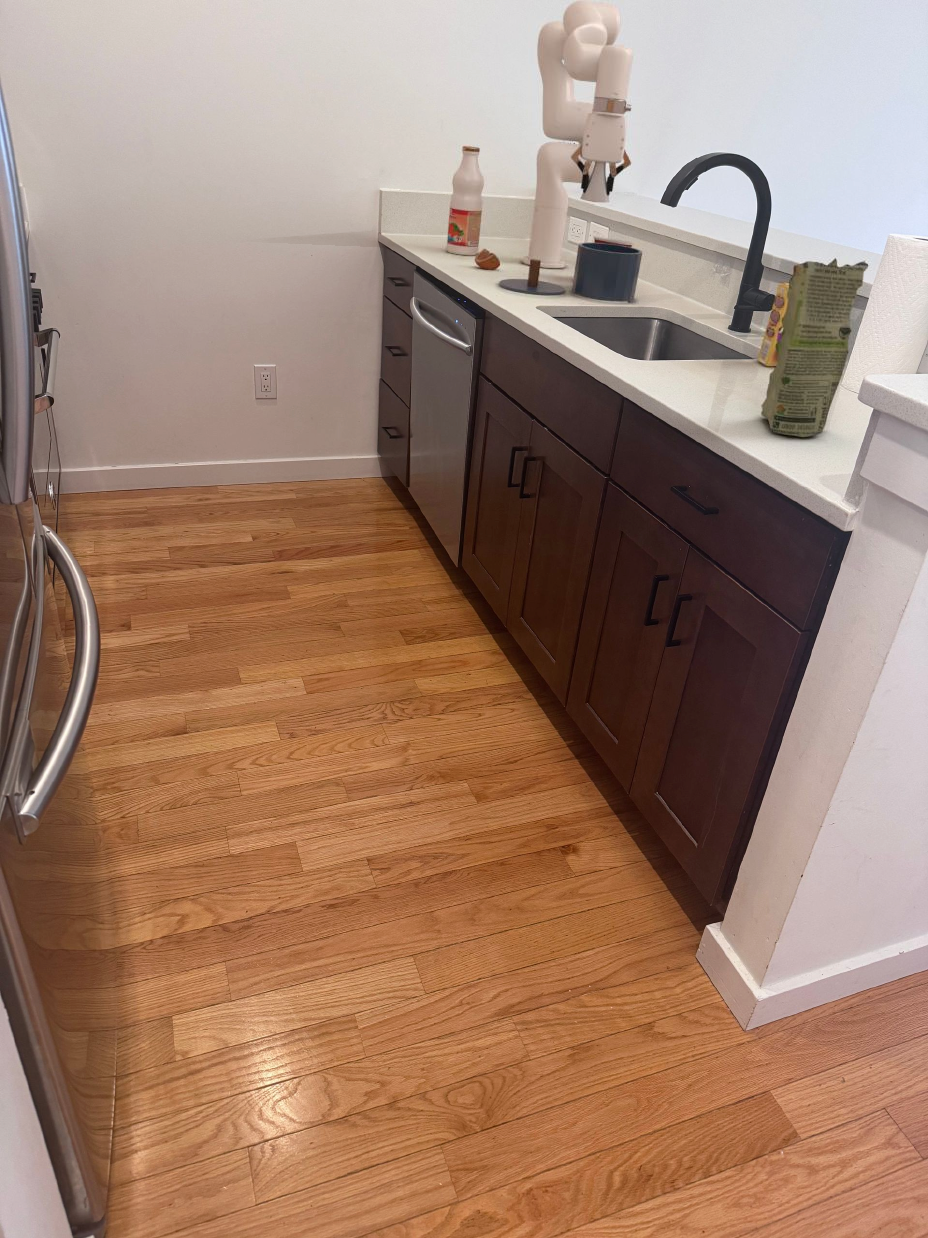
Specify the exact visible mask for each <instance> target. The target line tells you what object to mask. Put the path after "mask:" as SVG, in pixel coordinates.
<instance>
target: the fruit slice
mask: <svg viewBox="0 0 928 1238" xmlns="http://www.w3.org/2000/svg"><path fill="white" fill-rule="evenodd" d="M474 263H475V264H476V265H477V266H478V267H479V268H480V269H482V270H489V271H490V270H491V271H493V270H497V269H498V268H500V266H501V260H500V259H499V258H498V256H497V255H496V254H495V253H494V252H490V250H487V249H486V248H483V249H482V250H481V251H480V252H478V253H477V254H476V255H475V257H474Z"/></svg>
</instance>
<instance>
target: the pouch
mask: <svg viewBox="0 0 928 1238" xmlns="http://www.w3.org/2000/svg"><path fill="white" fill-rule="evenodd" d="M868 268H869V263H866V261H865V260H863V261H859V262H857V263H855V264H853V265H851V264H844V265H842V266H838V260H837V258H836V257H834V258H833V260H832V261H830V262H829V263H828V264H826V263H825V264H824V263H823V262H820V261H819V262H818V261H810V260H809V261H805V262H802V263H799V264H794V265H793V269H792V270H793V271H792V276H791V277H790V279H789V280H788V283H789V289H788V293H787V298H788V304H787V309H786V313H785V315H784V317H783V318H782V324H783V332H782V334H781V339H780V340H779V342H777V343H776V351H777V355H778V358H777V366H775V368H774V369H773V370H772V372H771V373H770V374H769V379H768V380H769V381H768V382H769V383H768V384H767V389H766V398H765V400H764V401H763V402H762V404H761V410H762V411H761V412H760V416H761V417H764V418H765V419H767V421H768V424H769V428H770V430H771V431H772V432H773V433H775V434H781V435H787V436H792V437H793V436H794V437H799V438H807V437H813V436H816V435H819V434H821V433H823V432H824V429H825V427H826V424H827V422H828V421H827V420H828V416H829V413H830V409H831V407H832V403H833V400H834V398H835V395H836V392H837V390H838V388H839V384H840V382H841V379H842V377H843V373H844V372H843V371H844V370H845V367H846V362H847V358H848V354H849V339H850V335H851V332H852V329H851V323H850V318H851V312H852V310H853V308H854V305H855V301H856V298H857V293H858V290H859V289H860V288H861V287H863V283H864V274H865V271H866V270H867V269H868Z"/></svg>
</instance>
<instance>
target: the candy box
mask: <svg viewBox="0 0 928 1238" xmlns="http://www.w3.org/2000/svg"><path fill="white" fill-rule="evenodd" d="M788 289H789V282H785V281H784V282H783V281H780V282H778V286H777V290H776V294H775V297H774V301H773V304H772V308H771V312H770V315H769V318H768V321H767V324H766V329H765V332H764V336H763V339H762V342H761V346H760V350H759V353H758V357H757V362H759V363H760V364H762V365H764V366H765V367H776V366H777V358H778V355H777V351H776V343H777V342H779V340H780V339H781V334H782V332H783V324H782V318H783V317H784V315H785V313H786V309H787V304H788V298H787V293H788Z"/></svg>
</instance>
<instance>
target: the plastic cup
mask: <svg viewBox="0 0 928 1238" xmlns="http://www.w3.org/2000/svg"><path fill="white" fill-rule="evenodd" d="M592 237H593V241H594V242H593V243H606V244H615V245H621V246H627V247H631V248H633V246H634V244H635V243H634V242H631V241H627V240H623V239H616V238H612V237H605V236H597V235H595V236H594V235H593V236H592Z"/></svg>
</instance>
